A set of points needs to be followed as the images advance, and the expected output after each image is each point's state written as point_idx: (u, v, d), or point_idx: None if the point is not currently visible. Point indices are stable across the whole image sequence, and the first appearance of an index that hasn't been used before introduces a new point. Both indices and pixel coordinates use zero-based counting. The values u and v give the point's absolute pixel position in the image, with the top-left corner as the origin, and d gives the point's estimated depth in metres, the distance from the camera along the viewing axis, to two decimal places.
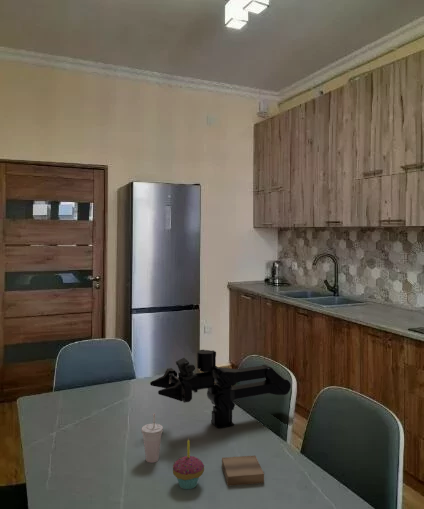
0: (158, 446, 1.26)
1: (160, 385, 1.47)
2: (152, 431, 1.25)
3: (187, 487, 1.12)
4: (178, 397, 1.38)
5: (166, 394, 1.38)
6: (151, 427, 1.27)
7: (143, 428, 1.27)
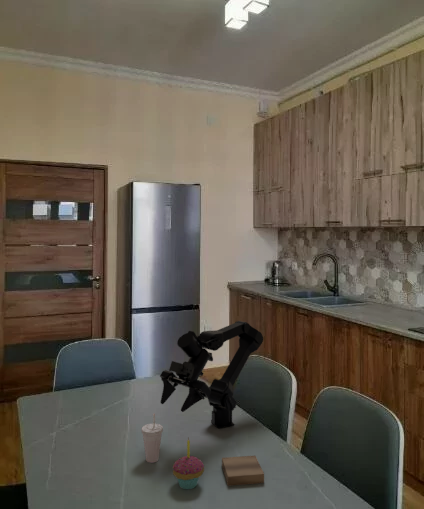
0: (158, 446, 1.26)
1: (169, 395, 1.39)
2: (152, 431, 1.25)
3: (187, 487, 1.12)
4: (199, 398, 1.33)
5: (188, 405, 1.31)
6: (151, 427, 1.27)
7: (143, 428, 1.27)
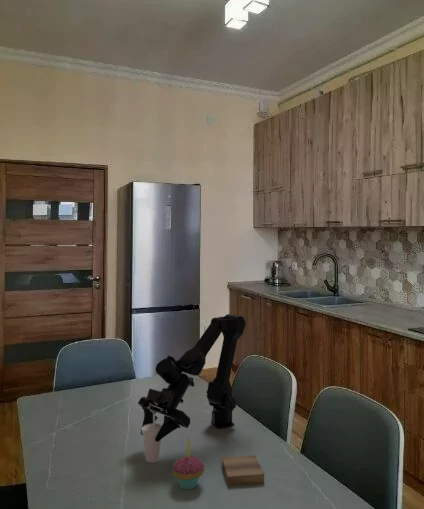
0: (158, 446, 1.26)
1: None
2: (152, 431, 1.25)
3: (187, 487, 1.12)
4: (174, 426, 1.27)
5: (163, 435, 1.25)
6: (151, 427, 1.27)
7: (143, 428, 1.27)
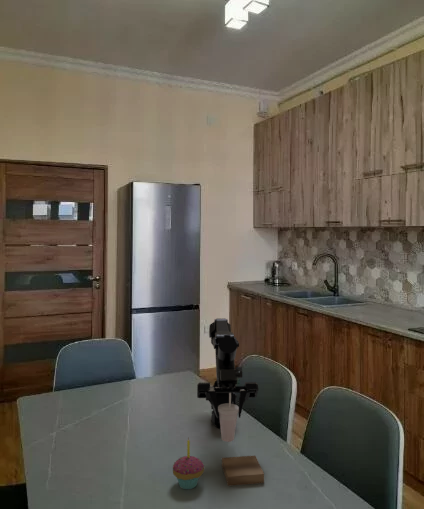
0: None
1: None
2: (234, 409, 1.26)
3: (187, 487, 1.12)
4: (244, 399, 1.32)
5: None
6: (228, 407, 1.27)
7: (223, 410, 1.25)
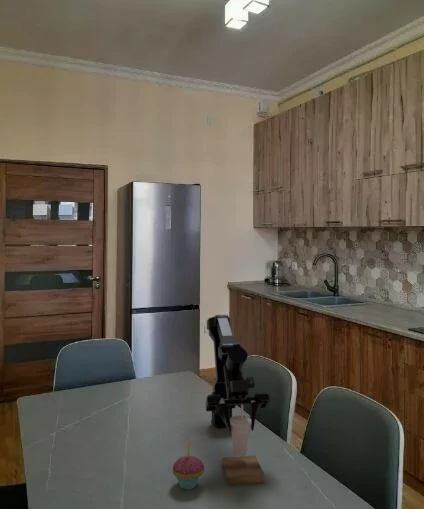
0: None
1: None
2: (247, 422, 1.21)
3: (187, 487, 1.12)
4: None
5: None
6: (240, 419, 1.22)
7: (236, 423, 1.20)
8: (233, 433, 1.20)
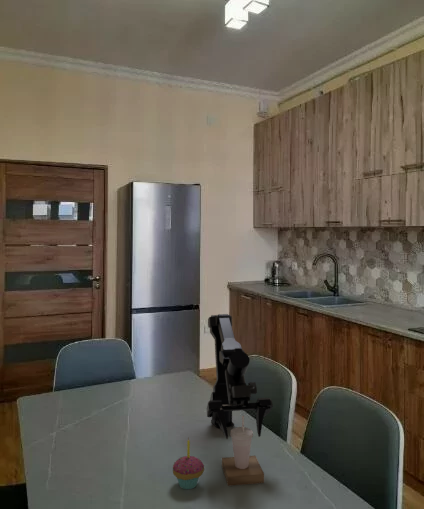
0: None
1: None
2: (249, 434, 1.18)
3: (187, 487, 1.12)
4: None
5: None
6: (241, 431, 1.19)
7: (236, 435, 1.17)
8: (234, 445, 1.18)
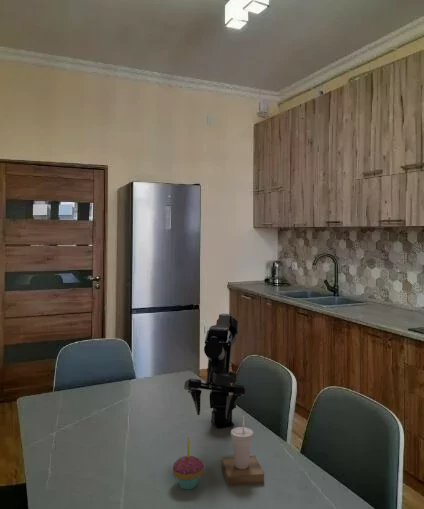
0: None
1: None
2: (249, 434, 1.18)
3: (187, 487, 1.12)
4: None
5: None
6: (241, 431, 1.19)
7: (237, 435, 1.17)
8: (234, 445, 1.18)
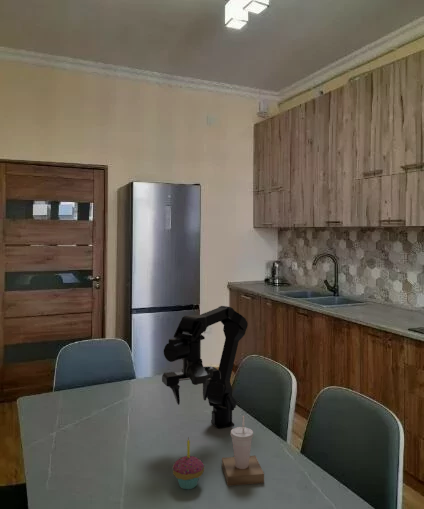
0: None
1: None
2: (249, 434, 1.18)
3: (187, 487, 1.12)
4: None
5: None
6: (241, 431, 1.19)
7: (237, 435, 1.17)
8: (234, 445, 1.18)
